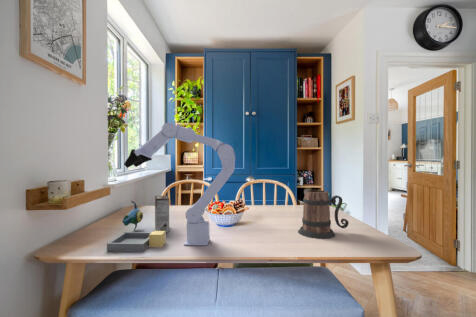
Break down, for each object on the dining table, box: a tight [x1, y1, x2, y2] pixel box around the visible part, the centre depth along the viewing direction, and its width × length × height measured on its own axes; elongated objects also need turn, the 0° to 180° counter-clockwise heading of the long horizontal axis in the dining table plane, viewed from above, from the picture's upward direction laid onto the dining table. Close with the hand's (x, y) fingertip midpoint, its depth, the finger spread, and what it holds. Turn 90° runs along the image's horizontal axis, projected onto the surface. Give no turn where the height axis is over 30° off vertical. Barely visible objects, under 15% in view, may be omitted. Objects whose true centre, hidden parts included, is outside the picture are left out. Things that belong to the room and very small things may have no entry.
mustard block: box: [148, 230, 167, 248], centre depth 98 cm, size 5×5×5 cm
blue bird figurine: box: [121, 200, 144, 231], centre depth 115 cm, size 13×12×6 cm
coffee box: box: [154, 195, 170, 233], centre depth 118 cm, size 9×6×16 cm
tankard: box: [297, 189, 349, 240], centre depth 113 cm, size 24×17×20 cm
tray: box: [106, 231, 153, 252], centre depth 98 cm, size 14×14×3 cm
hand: (130, 165), depth 101 cm, fingers open, 7 cm apart
